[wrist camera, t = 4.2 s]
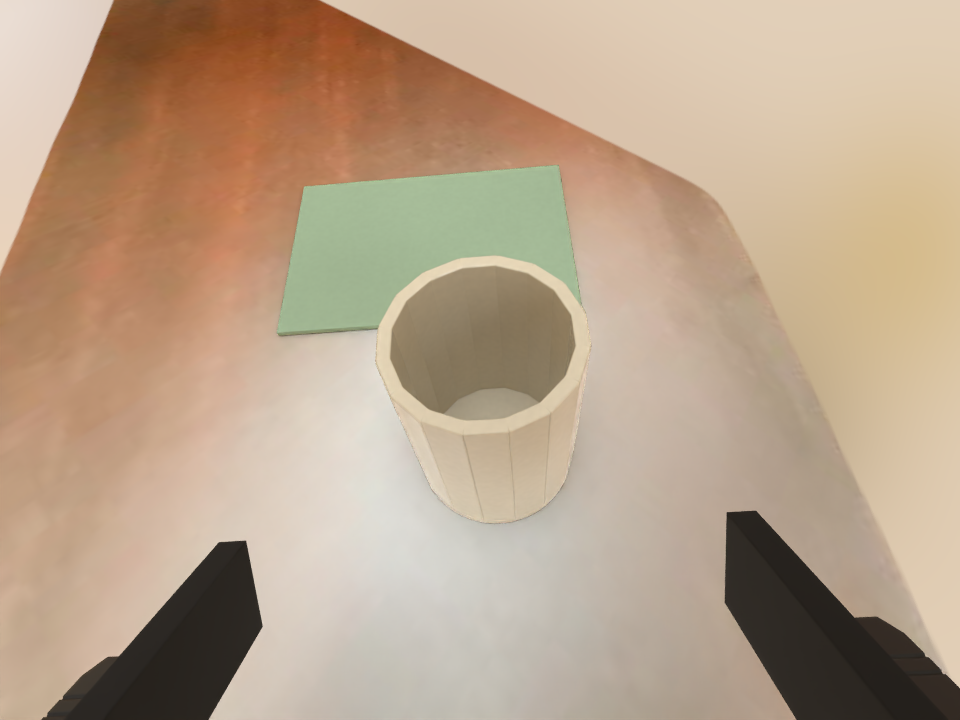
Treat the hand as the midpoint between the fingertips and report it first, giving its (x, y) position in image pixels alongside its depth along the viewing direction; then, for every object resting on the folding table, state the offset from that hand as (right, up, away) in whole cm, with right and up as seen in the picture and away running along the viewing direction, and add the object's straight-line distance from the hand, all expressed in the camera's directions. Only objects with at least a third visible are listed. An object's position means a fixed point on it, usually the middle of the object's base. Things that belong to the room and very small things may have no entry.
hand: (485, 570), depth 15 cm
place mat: (-4, +14, +25) cm, 29 cm away
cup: (+1, +1, +17) cm, 17 cm away
